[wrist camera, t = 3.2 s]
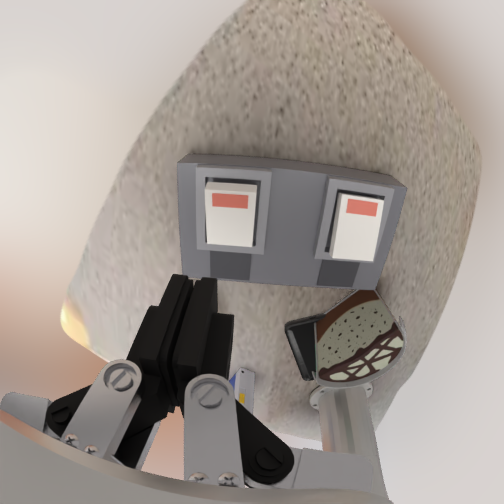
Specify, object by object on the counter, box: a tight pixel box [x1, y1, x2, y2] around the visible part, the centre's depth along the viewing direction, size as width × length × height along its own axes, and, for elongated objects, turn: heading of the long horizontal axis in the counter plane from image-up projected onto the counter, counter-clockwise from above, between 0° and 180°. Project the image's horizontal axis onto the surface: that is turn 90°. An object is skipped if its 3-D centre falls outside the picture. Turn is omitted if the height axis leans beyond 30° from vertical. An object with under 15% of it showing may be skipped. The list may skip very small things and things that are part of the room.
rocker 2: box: [329, 192, 384, 261], centre depth 23 cm, size 6×4×1 cm
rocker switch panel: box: [177, 154, 407, 290], centre depth 27 cm, size 12×21×5 cm, turn 86°
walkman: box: [229, 368, 255, 415], centre depth 40 cm, size 8×3×12 cm, turn 155°
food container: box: [312, 289, 407, 388], centre depth 32 cm, size 12×6×10 cm, turn 137°
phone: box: [285, 313, 326, 381], centre depth 40 cm, size 8×1×15 cm
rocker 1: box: [205, 182, 257, 247], centre depth 23 cm, size 6×4×1 cm
